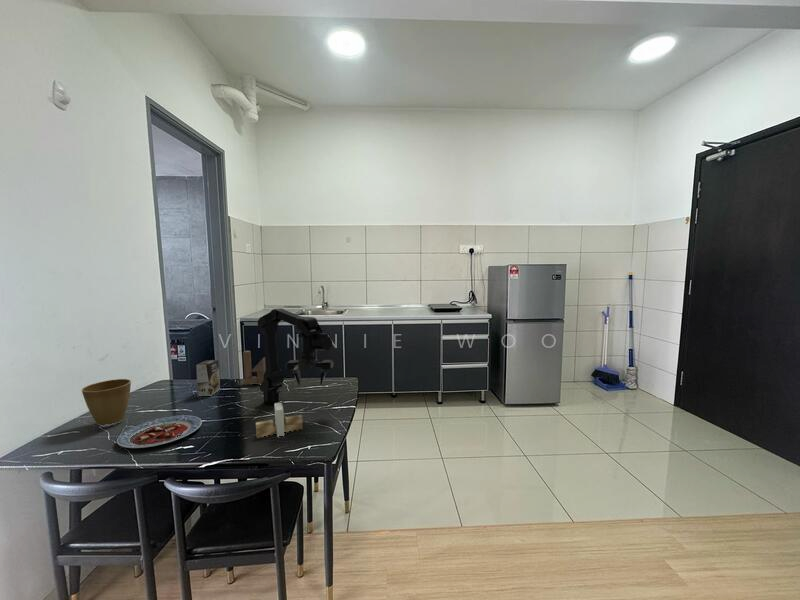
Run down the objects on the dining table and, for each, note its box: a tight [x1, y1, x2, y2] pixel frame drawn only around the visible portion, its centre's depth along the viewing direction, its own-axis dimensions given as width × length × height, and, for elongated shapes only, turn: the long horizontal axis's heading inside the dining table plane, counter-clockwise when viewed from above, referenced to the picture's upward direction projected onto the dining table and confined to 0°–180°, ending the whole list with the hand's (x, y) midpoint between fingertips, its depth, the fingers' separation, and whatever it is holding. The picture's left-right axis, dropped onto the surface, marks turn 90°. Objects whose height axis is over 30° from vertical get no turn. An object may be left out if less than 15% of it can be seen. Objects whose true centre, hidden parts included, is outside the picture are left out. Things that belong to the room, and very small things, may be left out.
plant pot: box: [81, 378, 132, 425], centre depth 138 cm, size 15×15×16 cm
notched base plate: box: [255, 414, 304, 439], centre depth 128 cm, size 16×2×5 cm, turn 115°
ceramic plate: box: [116, 414, 203, 449], centre depth 128 cm, size 26×26×3 cm
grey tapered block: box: [274, 401, 286, 438], centre depth 128 cm, size 8×2×10 cm, turn 24°
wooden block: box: [242, 350, 267, 385], centre depth 185 cm, size 4×11×18 cm, turn 95°
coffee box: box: [195, 359, 221, 397], centre depth 171 cm, size 9×6×16 cm
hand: (310, 384), depth 145 cm, fingers open, 9 cm apart
